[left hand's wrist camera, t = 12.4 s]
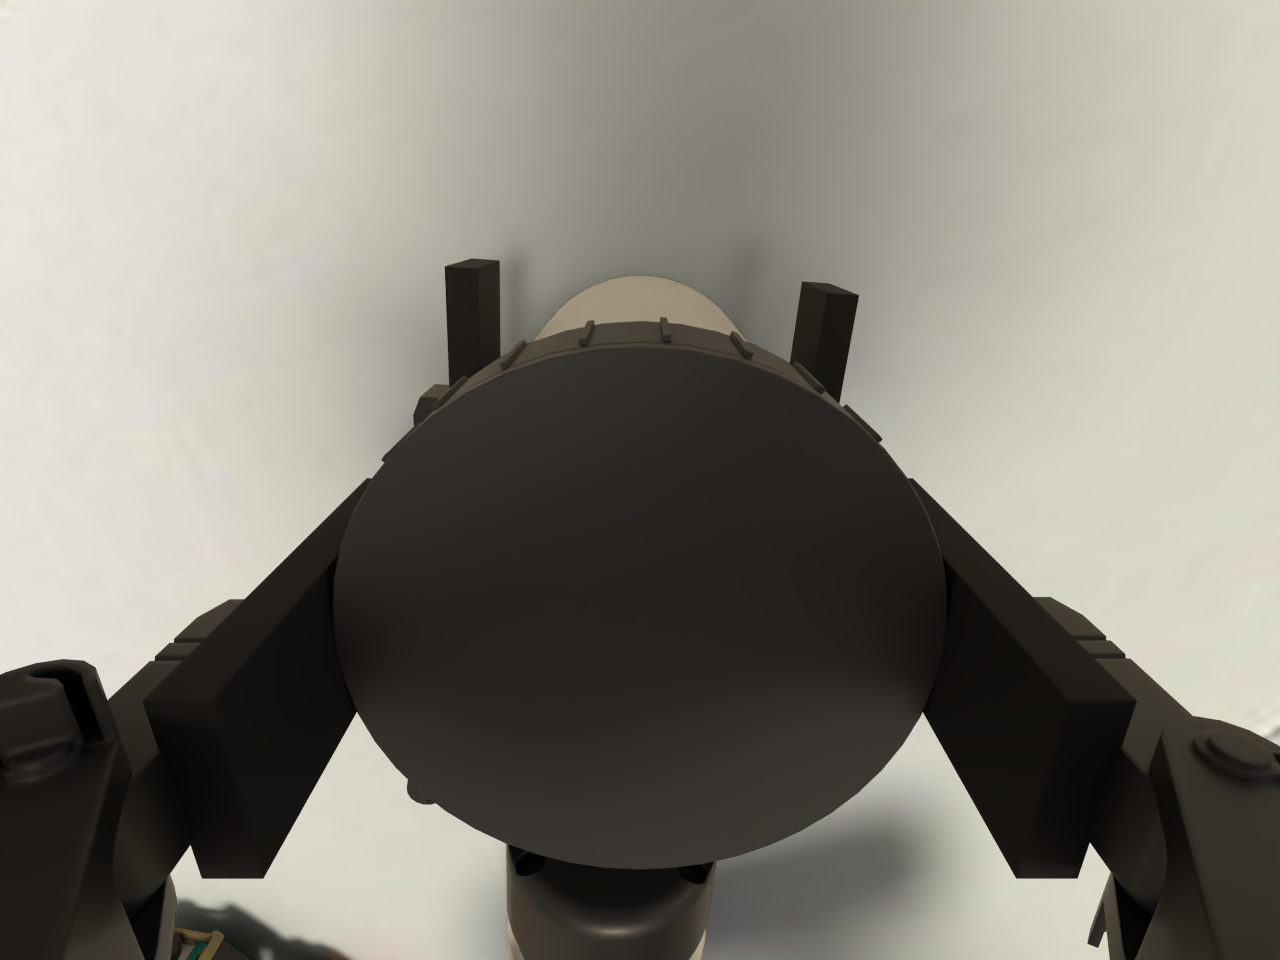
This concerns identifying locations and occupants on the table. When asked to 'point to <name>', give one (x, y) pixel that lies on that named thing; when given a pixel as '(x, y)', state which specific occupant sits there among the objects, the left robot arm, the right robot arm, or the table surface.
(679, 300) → the jar
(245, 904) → the table surface
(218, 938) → the spray gun
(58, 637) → the table surface
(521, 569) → the lid
